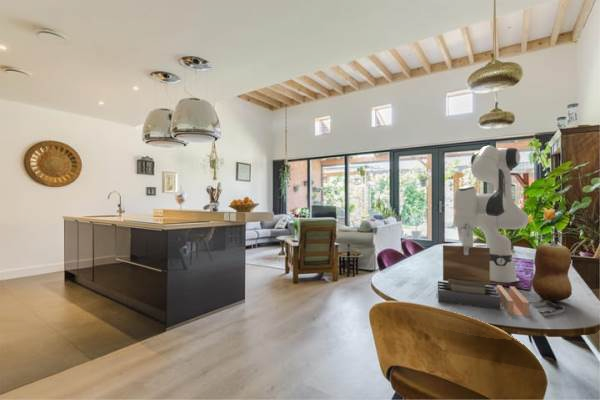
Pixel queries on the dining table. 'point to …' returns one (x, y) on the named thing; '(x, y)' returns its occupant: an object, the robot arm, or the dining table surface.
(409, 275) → the dining table surface
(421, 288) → the dining table surface
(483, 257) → the tall sheet
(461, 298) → the rack
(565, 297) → the butternut squash
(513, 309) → the holder
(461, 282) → the offcut
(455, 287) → the offcut
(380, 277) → the dining table surface
